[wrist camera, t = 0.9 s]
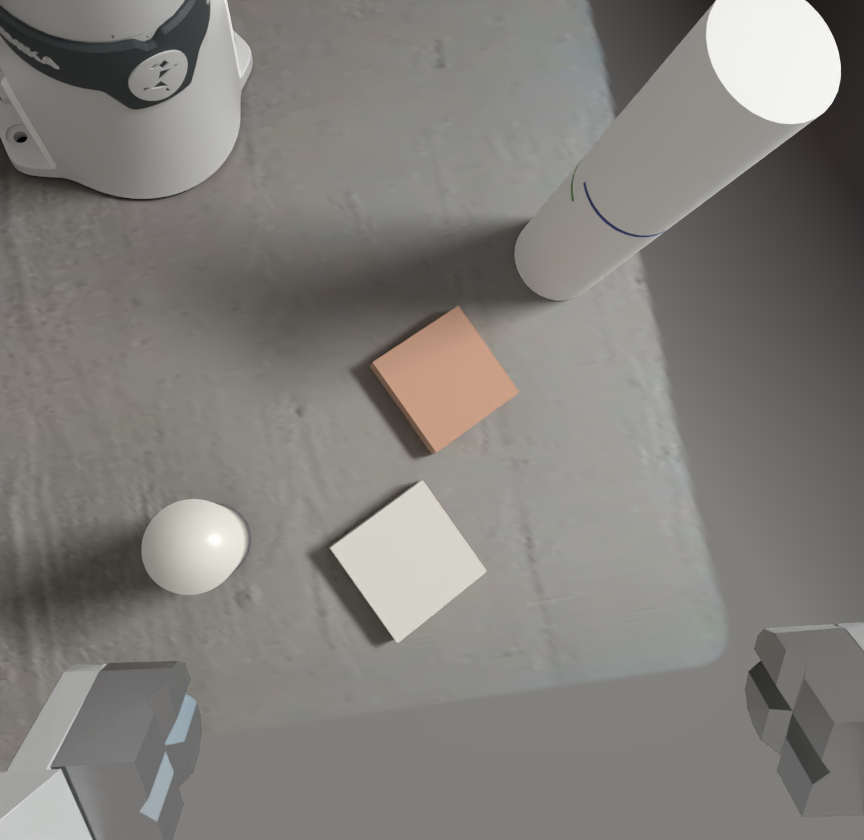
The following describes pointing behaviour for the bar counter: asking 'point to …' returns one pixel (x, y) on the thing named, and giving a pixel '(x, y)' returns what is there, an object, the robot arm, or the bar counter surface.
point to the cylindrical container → (683, 139)
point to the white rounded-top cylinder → (194, 546)
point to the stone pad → (408, 560)
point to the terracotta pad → (444, 379)
